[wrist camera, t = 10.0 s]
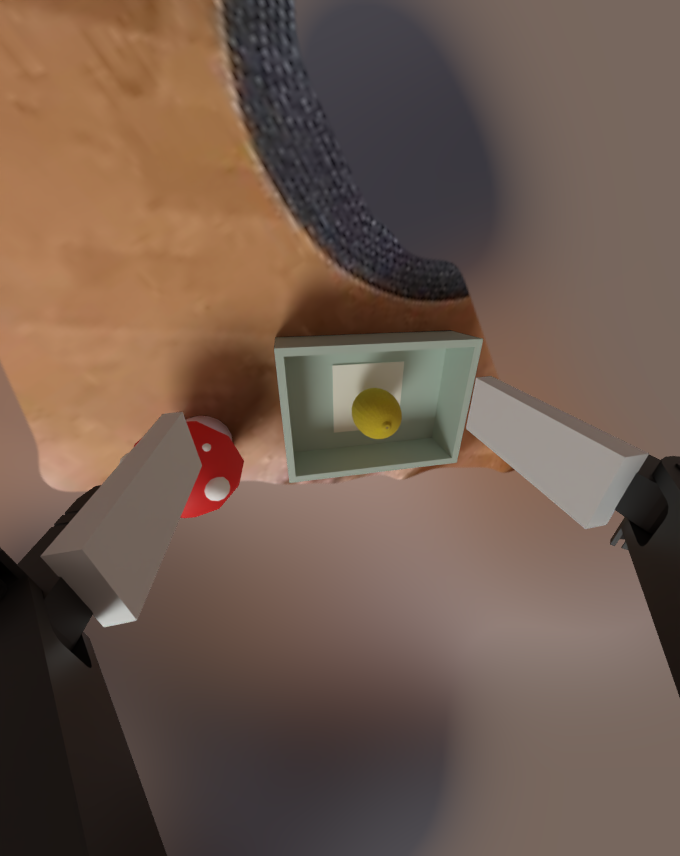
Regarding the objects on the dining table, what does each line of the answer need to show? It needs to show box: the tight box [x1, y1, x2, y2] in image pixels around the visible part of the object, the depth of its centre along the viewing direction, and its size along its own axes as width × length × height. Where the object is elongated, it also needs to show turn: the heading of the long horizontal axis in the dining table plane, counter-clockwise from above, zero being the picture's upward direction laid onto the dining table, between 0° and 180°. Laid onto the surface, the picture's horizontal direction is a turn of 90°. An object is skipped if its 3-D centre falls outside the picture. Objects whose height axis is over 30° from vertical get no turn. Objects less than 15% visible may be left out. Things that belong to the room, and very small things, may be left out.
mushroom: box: [119, 416, 244, 518], centre depth 30 cm, size 11×11×12 cm
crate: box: [274, 330, 483, 483], centre depth 34 cm, size 16×22×6 cm
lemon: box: [352, 388, 402, 439], centre depth 32 cm, size 6×6×8 cm
